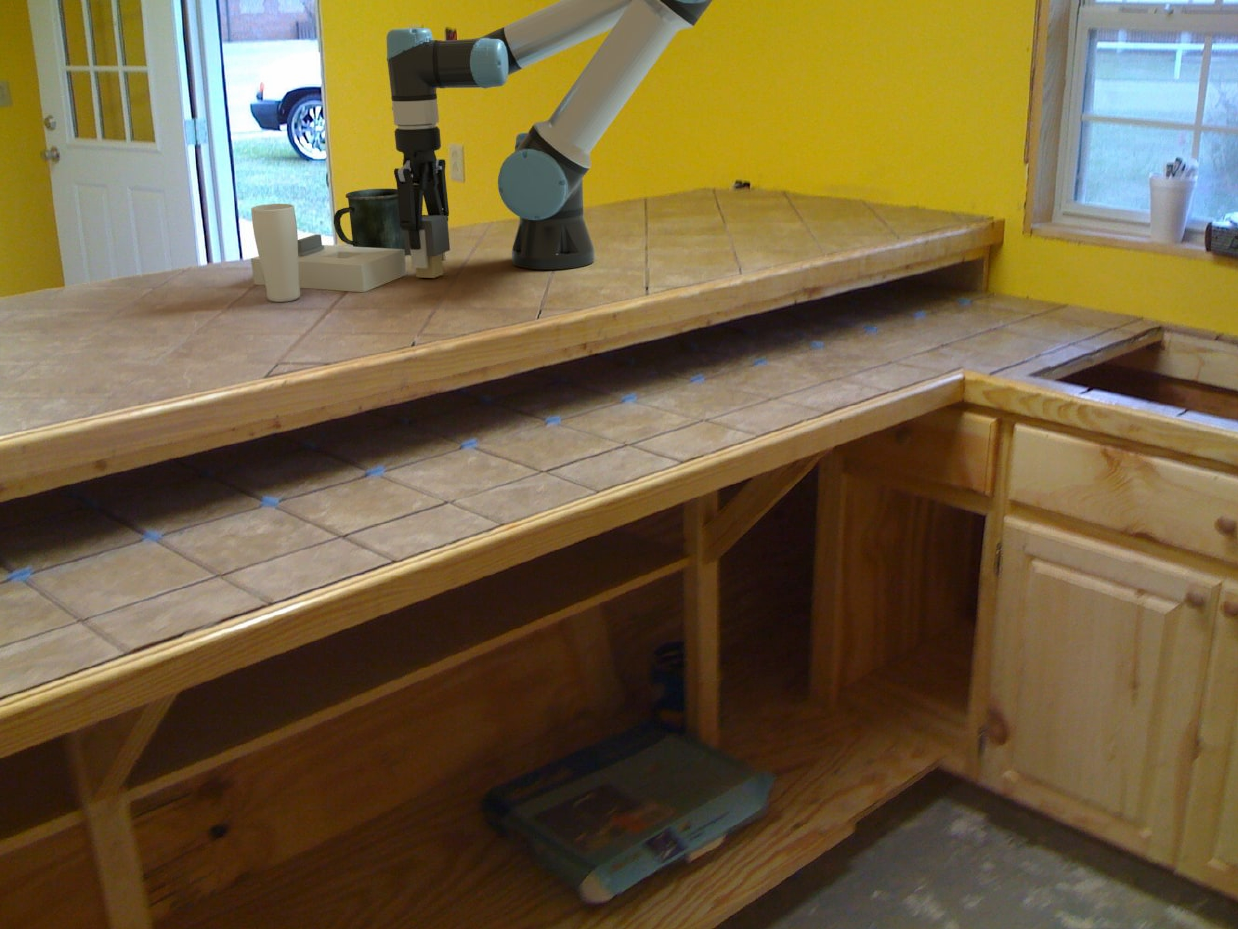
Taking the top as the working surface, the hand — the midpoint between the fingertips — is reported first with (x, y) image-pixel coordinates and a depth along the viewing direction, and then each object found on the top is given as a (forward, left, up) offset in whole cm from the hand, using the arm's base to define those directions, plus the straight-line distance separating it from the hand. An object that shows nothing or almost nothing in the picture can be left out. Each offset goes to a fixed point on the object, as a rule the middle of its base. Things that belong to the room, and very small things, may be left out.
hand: (429, 263), depth 207 cm
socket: (+16, +6, -2) cm, 18 cm away
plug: (0, 0, -2) cm, 2 cm away
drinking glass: (+15, +21, -3) cm, 26 cm away
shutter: (+22, +6, +2) cm, 23 cm away
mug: (+19, -13, -3) cm, 23 cm away
